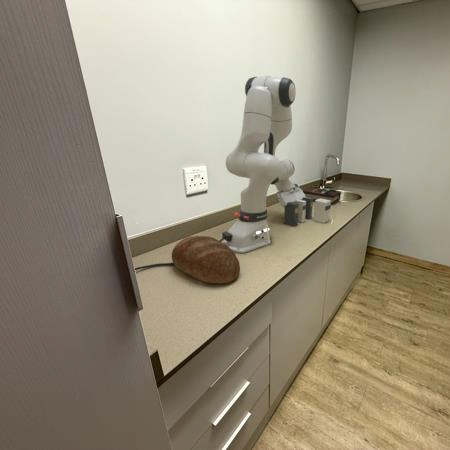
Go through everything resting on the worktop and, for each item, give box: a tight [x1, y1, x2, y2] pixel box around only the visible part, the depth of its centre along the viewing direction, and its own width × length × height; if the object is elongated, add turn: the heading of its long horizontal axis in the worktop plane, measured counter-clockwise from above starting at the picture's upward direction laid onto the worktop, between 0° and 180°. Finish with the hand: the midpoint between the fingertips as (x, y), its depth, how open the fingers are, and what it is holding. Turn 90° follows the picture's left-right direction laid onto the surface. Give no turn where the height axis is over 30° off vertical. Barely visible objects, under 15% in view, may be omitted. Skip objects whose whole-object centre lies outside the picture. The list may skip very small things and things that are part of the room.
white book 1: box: [294, 199, 306, 223], centre depth 137 cm, size 3×7×12 cm, turn 56°
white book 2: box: [313, 200, 328, 224], centre depth 138 cm, size 3×7×12 cm, turn 56°
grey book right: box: [302, 197, 314, 220], centre depth 143 cm, size 3×7×12 cm, turn 63°
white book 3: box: [318, 198, 332, 222], centre depth 140 cm, size 3×7×12 cm, turn 56°
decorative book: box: [302, 186, 342, 206], centre depth 184 cm, size 19×8×30 cm
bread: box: [171, 235, 241, 284], centre depth 85 cm, size 16×29×11 cm, turn 57°
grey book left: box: [283, 202, 299, 227], centre depth 131 cm, size 3×7×12 cm, turn 56°
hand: (299, 209), depth 137 cm, fingers closed on white book 1, 3 cm apart
